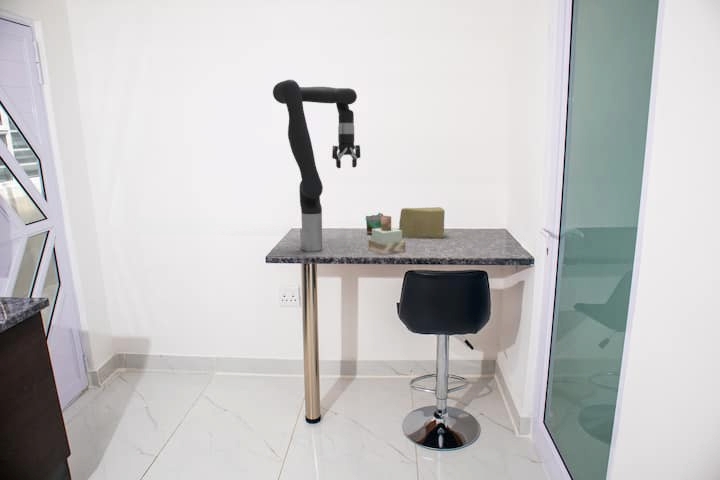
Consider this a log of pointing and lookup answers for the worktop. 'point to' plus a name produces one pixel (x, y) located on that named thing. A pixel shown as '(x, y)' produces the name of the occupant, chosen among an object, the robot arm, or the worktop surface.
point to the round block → (385, 223)
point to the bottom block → (386, 247)
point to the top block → (387, 236)
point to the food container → (373, 222)
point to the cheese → (422, 222)
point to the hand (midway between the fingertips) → (346, 167)
